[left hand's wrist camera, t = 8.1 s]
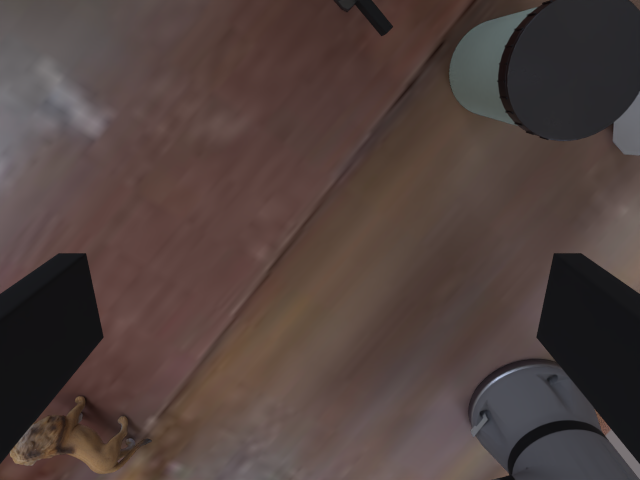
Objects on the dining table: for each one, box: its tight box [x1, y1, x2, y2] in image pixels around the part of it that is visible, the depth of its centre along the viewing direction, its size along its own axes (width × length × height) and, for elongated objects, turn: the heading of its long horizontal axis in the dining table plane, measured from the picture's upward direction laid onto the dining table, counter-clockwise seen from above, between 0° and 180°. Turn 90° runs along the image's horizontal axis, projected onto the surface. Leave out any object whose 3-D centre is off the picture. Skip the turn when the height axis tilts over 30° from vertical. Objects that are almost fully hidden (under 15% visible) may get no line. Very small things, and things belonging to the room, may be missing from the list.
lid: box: [497, 0, 640, 141], centre depth 30 cm, size 10×10×2 cm
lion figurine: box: [10, 396, 152, 474], centre depth 55 cm, size 15×5×9 cm, turn 63°
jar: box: [449, 7, 538, 126], centre depth 36 cm, size 9×9×15 cm
